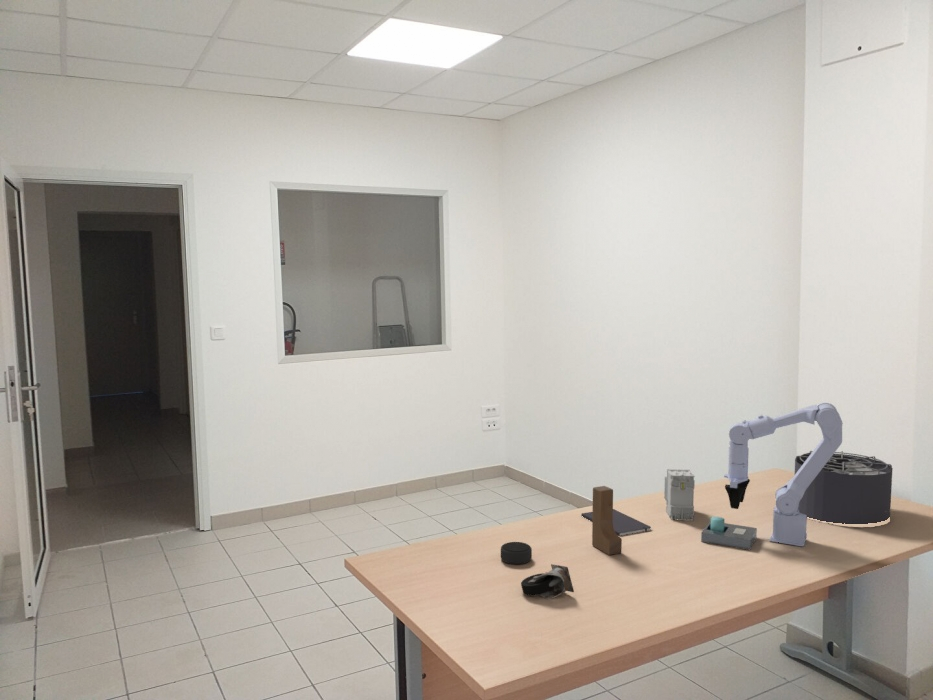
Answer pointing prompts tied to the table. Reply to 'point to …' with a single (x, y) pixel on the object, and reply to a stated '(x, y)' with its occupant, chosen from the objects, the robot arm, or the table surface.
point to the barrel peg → (717, 524)
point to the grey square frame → (730, 536)
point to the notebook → (622, 523)
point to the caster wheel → (548, 583)
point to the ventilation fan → (848, 490)
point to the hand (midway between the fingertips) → (736, 505)
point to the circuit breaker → (679, 494)
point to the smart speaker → (516, 553)
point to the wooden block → (604, 522)
